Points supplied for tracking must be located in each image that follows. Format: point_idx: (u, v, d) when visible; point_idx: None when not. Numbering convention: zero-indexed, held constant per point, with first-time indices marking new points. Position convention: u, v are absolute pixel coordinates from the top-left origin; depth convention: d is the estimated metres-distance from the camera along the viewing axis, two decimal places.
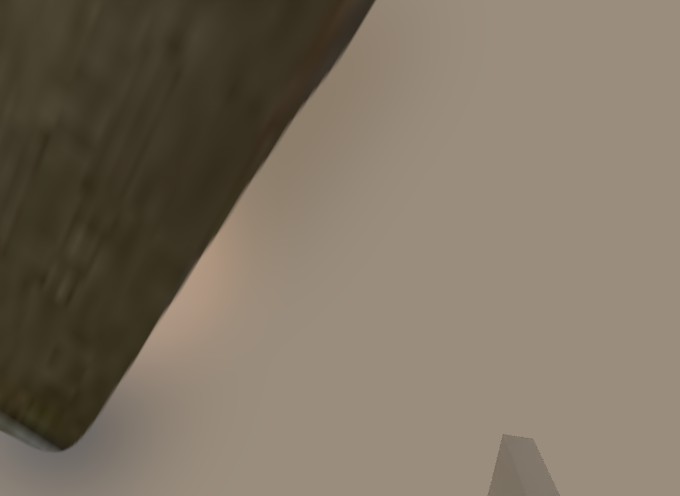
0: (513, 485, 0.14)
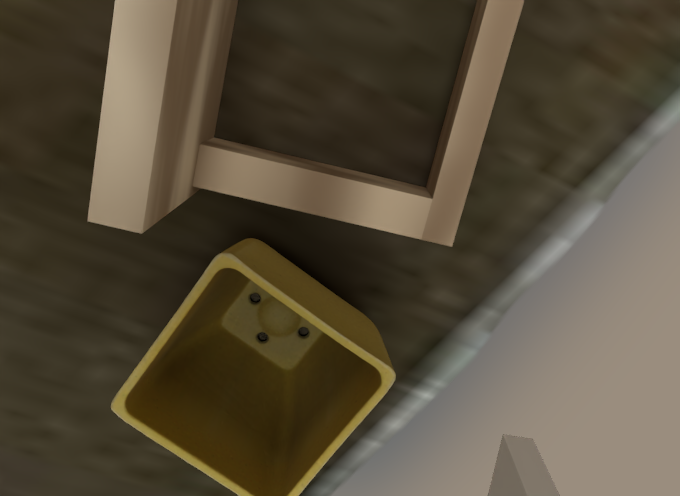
0: (513, 484, 0.14)
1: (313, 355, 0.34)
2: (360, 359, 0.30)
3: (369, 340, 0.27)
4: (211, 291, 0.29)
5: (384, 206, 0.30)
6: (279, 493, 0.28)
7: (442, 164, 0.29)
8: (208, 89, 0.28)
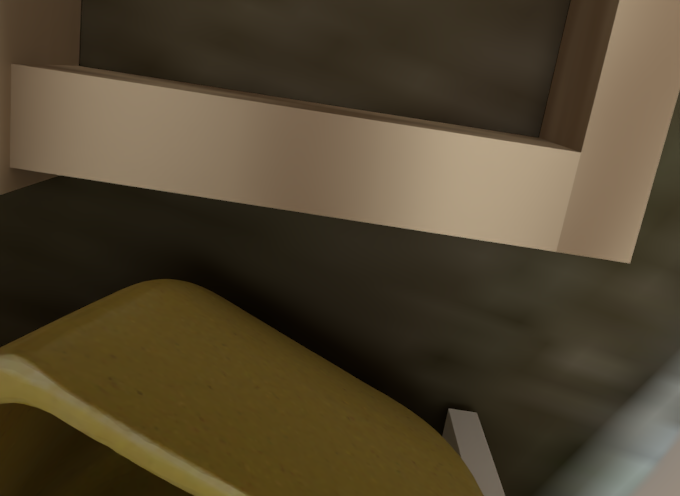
0: None
1: None
2: None
3: None
4: None
5: (465, 180, 0.12)
6: None
7: (603, 64, 0.12)
8: None
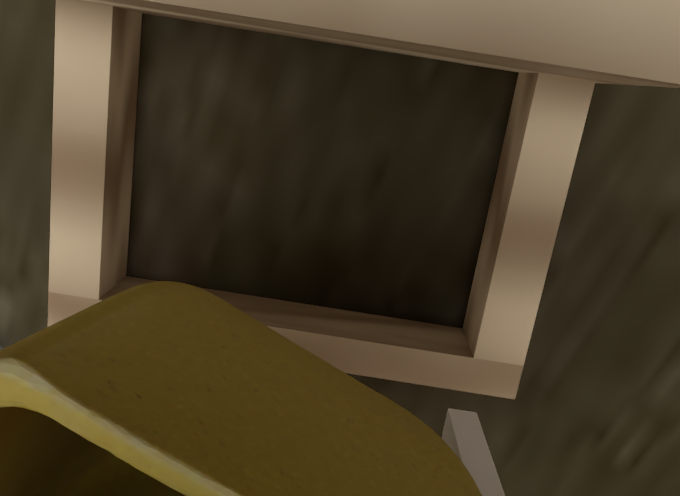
0: None
1: None
2: None
3: None
4: None
5: (79, 246, 0.24)
6: None
7: None
8: (182, 16, 0.22)
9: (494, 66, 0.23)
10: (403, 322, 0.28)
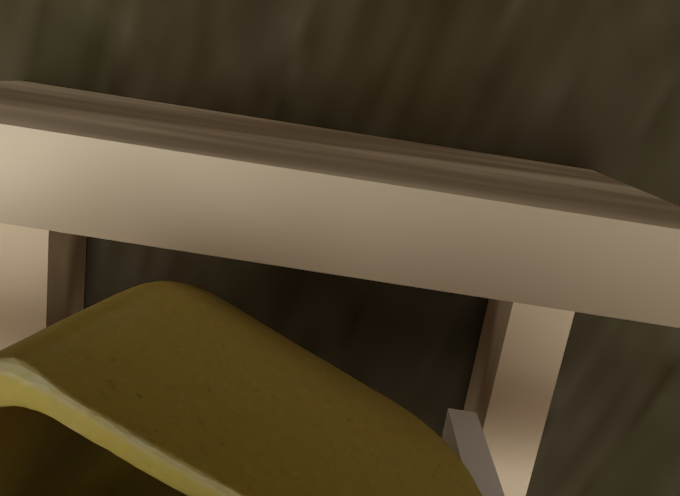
0: None
1: None
2: None
3: None
4: None
5: None
6: None
7: None
8: None
9: None
10: None
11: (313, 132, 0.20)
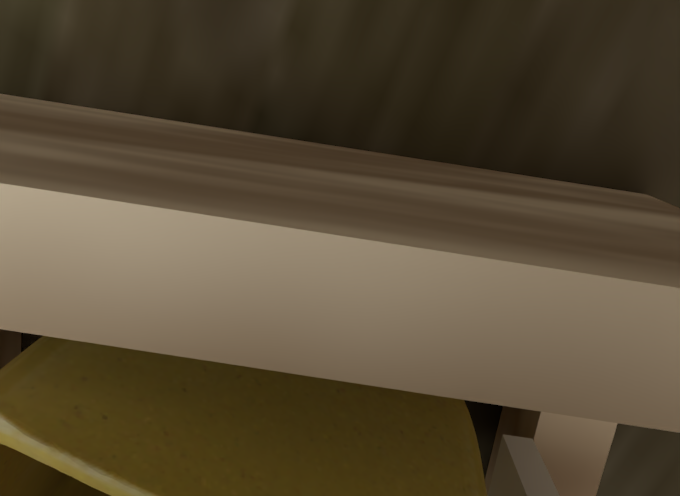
0: (513, 484, 0.14)
1: None
2: None
3: None
4: None
5: None
6: None
7: None
8: None
9: None
10: None
11: (298, 150, 0.16)
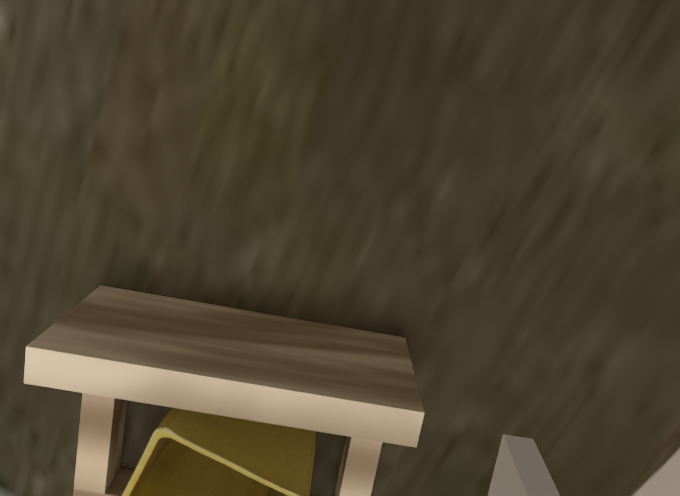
0: (514, 484, 0.14)
1: None
2: None
3: (292, 465, 0.34)
4: None
5: (94, 464, 0.41)
6: None
7: None
8: None
9: None
10: None
11: (255, 324, 0.39)
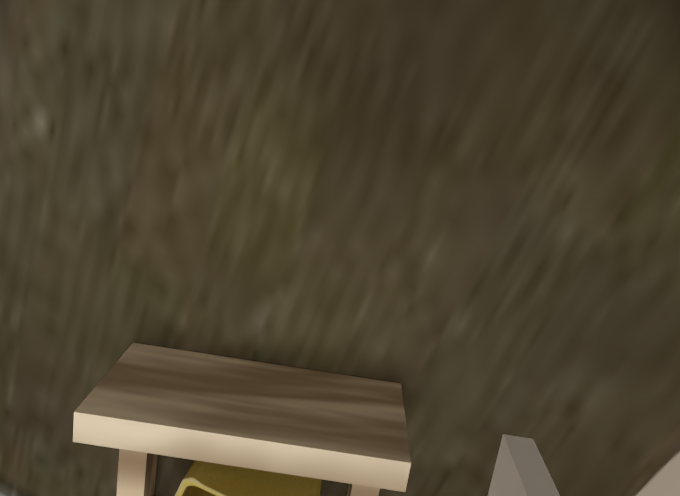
0: (513, 484, 0.14)
1: None
2: None
3: None
4: None
5: None
6: None
7: None
8: None
9: None
10: None
11: (268, 377, 0.45)
